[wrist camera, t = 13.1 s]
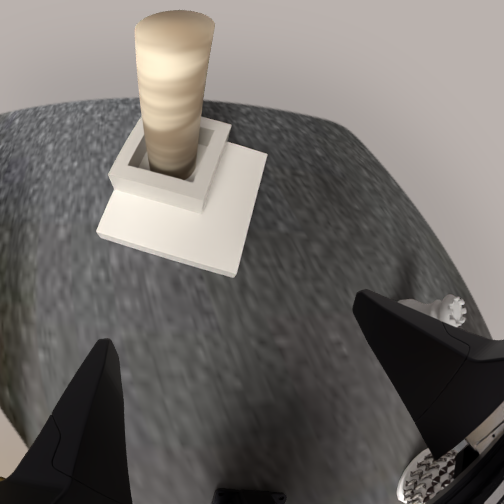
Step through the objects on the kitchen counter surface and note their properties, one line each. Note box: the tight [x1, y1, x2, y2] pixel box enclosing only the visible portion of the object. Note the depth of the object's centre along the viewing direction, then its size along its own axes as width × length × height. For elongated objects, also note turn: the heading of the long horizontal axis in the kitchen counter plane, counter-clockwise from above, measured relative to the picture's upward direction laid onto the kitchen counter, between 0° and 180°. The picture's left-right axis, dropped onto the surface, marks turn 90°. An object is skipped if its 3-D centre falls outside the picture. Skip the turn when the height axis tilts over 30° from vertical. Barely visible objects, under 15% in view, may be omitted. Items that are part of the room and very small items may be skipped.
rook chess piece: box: [398, 294, 467, 327], centre depth 22 cm, size 4×4×8 cm
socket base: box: [96, 116, 267, 278], centre depth 23 cm, size 12×12×4 cm
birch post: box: [135, 10, 215, 180], centre depth 17 cm, size 4×4×14 cm
